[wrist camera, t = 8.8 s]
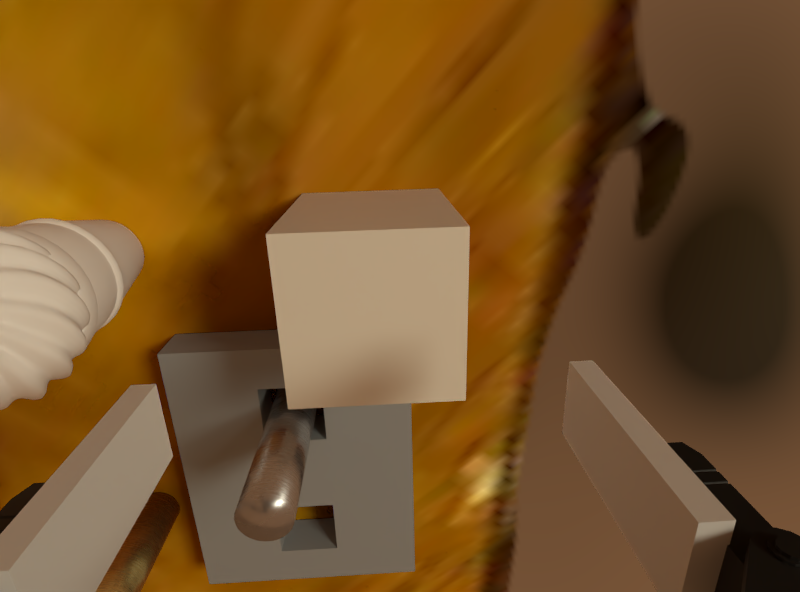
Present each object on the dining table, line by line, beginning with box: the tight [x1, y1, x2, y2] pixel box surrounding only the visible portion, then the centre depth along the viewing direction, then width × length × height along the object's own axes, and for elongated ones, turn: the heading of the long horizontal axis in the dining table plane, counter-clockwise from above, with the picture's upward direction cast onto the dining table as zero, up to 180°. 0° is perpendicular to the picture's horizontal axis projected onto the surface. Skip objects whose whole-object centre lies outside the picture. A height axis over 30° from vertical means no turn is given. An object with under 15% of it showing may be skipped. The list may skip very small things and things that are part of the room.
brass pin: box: [96, 492, 180, 592], centre depth 33 cm, size 3×3×12 cm
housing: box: [266, 189, 470, 409], centre depth 27 cm, size 9×9×11 cm
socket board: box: [157, 330, 415, 584], centre depth 36 cm, size 16×20×3 cm
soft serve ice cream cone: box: [0, 218, 144, 410], centre depth 24 cm, size 8×8×16 cm
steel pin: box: [234, 388, 317, 541], centre depth 30 cm, size 3×3×12 cm
